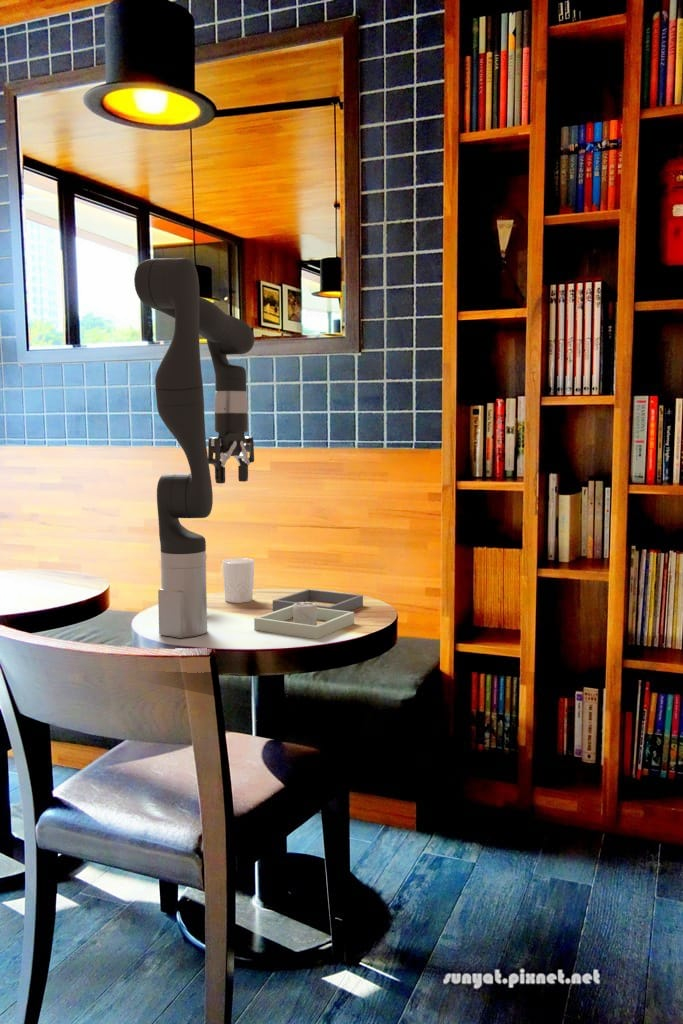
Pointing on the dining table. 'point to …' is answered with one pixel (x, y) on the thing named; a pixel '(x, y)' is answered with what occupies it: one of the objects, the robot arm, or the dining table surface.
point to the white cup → (238, 579)
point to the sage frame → (278, 625)
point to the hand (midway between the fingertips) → (232, 482)
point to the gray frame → (342, 599)
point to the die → (305, 613)
